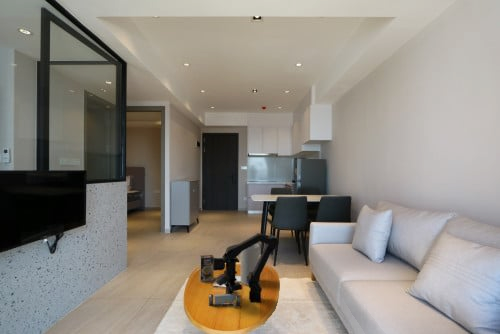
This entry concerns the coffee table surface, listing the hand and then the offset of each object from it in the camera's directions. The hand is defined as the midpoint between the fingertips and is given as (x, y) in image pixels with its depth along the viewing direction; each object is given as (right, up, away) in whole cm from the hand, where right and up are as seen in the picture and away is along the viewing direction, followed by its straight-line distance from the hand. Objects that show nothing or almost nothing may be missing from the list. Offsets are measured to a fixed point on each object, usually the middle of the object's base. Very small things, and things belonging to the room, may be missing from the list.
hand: (230, 296), depth 160 cm
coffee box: (-18, -3, +32) cm, 37 cm away
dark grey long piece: (-3, -3, -4) cm, 6 cm away
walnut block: (-1, -3, +12) cm, 13 cm away
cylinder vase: (+11, -4, +28) cm, 30 cm away
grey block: (-3, -2, -3) cm, 4 cm away
